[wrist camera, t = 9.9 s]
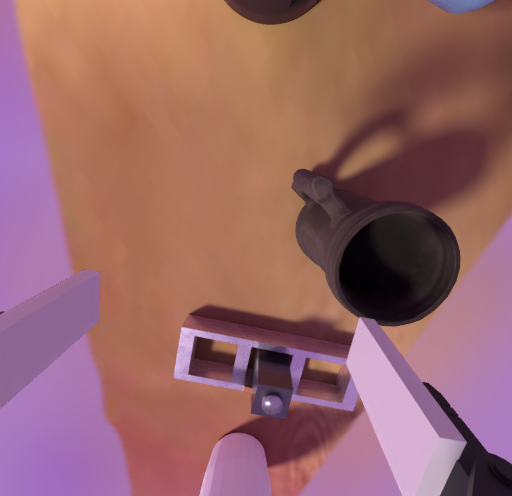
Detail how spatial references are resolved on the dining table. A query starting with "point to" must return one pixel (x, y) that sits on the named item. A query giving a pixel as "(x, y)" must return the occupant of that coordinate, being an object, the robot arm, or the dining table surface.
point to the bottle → (237, 468)
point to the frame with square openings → (249, 336)
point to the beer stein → (376, 251)
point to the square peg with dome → (271, 384)
